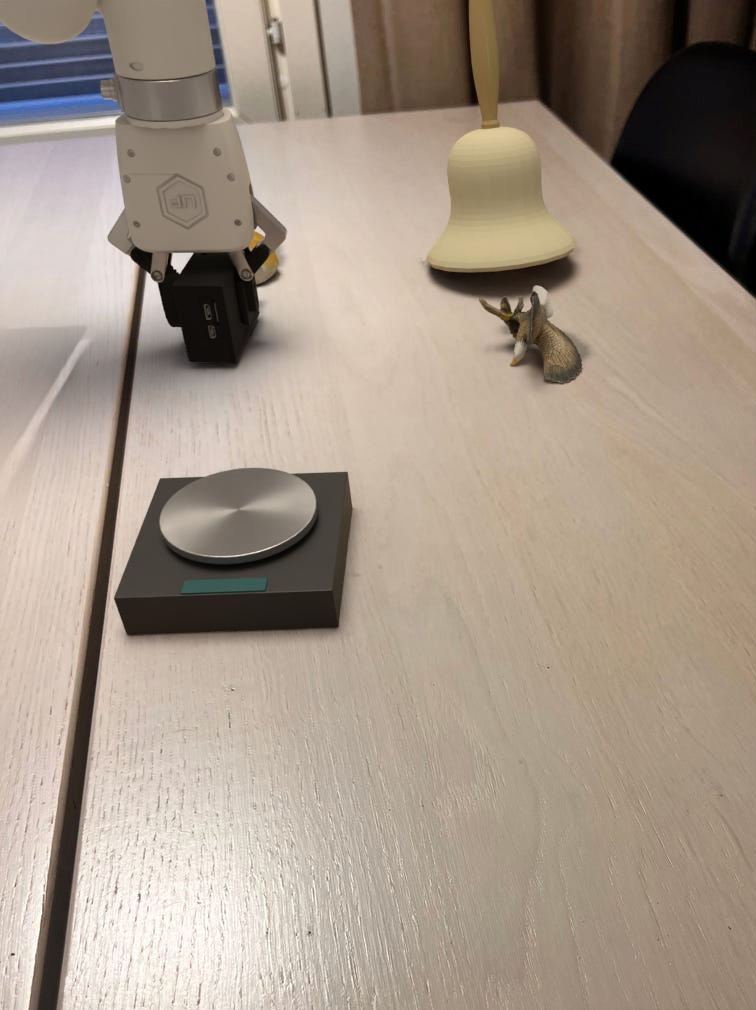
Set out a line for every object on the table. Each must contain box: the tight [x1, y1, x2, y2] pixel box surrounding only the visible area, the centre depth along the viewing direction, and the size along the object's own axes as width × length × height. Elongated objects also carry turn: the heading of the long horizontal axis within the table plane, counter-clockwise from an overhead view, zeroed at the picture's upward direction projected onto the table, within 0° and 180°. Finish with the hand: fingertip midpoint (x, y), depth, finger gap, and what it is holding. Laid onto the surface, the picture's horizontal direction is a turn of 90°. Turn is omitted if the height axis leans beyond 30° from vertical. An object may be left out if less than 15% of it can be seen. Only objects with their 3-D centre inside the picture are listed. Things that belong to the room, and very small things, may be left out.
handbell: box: [425, 0, 577, 273], centre depth 95 cm, size 15×15×25 cm
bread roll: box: [249, 230, 280, 285], centre depth 101 cm, size 8×9×4 cm
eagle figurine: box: [478, 285, 583, 385], centre depth 84 cm, size 8×7×9 cm
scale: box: [113, 471, 353, 636], centre depth 64 cm, size 13×13×3 cm
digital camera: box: [162, 252, 260, 364], centre depth 88 cm, size 10×5×7 cm, turn 178°
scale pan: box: [159, 467, 318, 564], centre depth 63 cm, size 10×10×1 cm
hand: (213, 317), depth 89 cm, fingers closed on digital camera, 5 cm apart
